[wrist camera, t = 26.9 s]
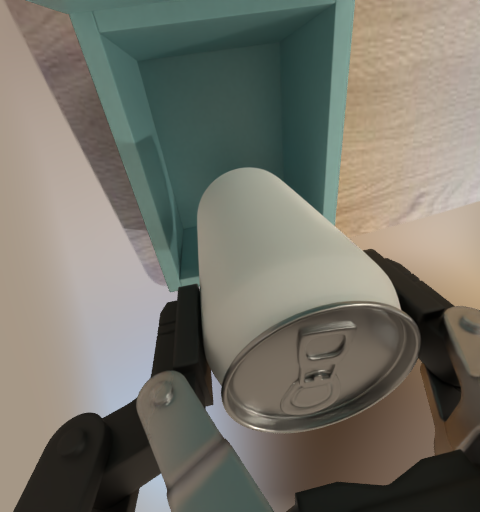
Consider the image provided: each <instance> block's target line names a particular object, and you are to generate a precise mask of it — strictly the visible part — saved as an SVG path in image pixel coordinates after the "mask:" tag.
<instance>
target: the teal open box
mask: <svg viewBox="0 0 480 512" xmlns="http://www.w3.org/2000/svg"><path fill="white" fill-rule="evenodd" d="M354 6H355V0H179V1H171V2H162V3H154V4H146V5H137V6H129V7H120V8H112V9H104V10H95V11H87V12H78V13H70V14H69V16H70V19H71V22H72V25H73V27H74V30H75V33H76V36H77V38H78V41H79V44H80V47H81V49H82V52H83V55H84V58H85V60H86V63H87V66H88V69H89V71H90V74H91V77H92V80H93V82H94V85H95V88H96V91H97V93H98V96H99V99H100V102H101V104H102V107H103V110H104V113H105V115H106V118H107V121H108V124H109V126H110V129H111V132H112V135H113V137H114V140H115V143H116V146H117V148H118V151H119V154H120V157H121V159H122V162H123V165H124V168H125V170H126V173H127V176H128V179H129V181H130V184H131V187H132V190H133V192H134V195H135V198H136V201H137V203H138V206H139V209H140V212H141V214H142V217H143V220H144V223H145V225H146V228H147V231H148V234H149V236H150V239H151V242H152V245H153V247H154V250H155V253H156V256H157V258H158V261H159V264H160V267H161V269H162V272H163V275H164V278H165V280H166V283H167V286H168V289H169V291H170V292H174V291H178V288H179V287H182V286H187V285H192V284H196V283H197V284H198V287H199V286H200V282H199V259H198V234H197V212H198V207H199V203H200V200H201V198H202V196H203V194H204V192H205V191H206V189H207V188H208V187H209V185H210V184H211V183H212V182H213V181H214V180H216V179H217V178H218V177H220V176H221V175H223V174H225V173H227V172H229V171H231V170H234V169H239V168H247V167H251V168H259V169H263V170H265V171H268V172H270V173H272V174H274V175H275V176H277V177H278V178H279V179H281V180H282V181H283V182H284V183H285V184H287V185H288V186H289V187H290V188H291V189H292V190H294V191H295V192H296V193H297V194H298V195H299V196H301V197H302V198H303V199H304V200H305V201H306V202H308V203H309V204H310V205H311V206H312V207H313V208H314V209H316V210H317V211H318V212H319V213H320V214H321V215H323V216H324V217H325V218H326V219H327V220H328V221H329V222H331V223H332V224H333V225H334V226H335V218H336V207H337V195H338V184H339V173H340V162H341V151H342V140H343V129H344V118H345V106H346V95H347V84H348V73H349V62H350V51H351V40H352V29H353V17H354Z"/></svg>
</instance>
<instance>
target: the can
mask: <svg viewBox="0 0 480 512" xmlns="http://www.w3.org/2000/svg"><path fill="white" fill-rule="evenodd" d="M197 234H198V259H199V282H200V303H201V321H202V336H203V346H204V351H205V356H206V360H207V362H208V364H209V367H210V369H211V370H212V372H213V374H214V375H215V377H216V378H217V380H218V381H219V383H220V384H221V386H222V389H221V396H222V402H223V405H224V408H225V410H226V412H227V413H228V414H229V416H230V417H231V418H232V419H233V420H235V421H236V422H237V423H239V424H241V425H242V426H245V427H247V428H250V429H252V430H256V431H261V432H267V433H295V432H303V431H308V430H313V429H318V428H321V427H325V426H329V425H331V424H334V423H337V422H340V421H343V420H345V419H348V418H350V417H352V416H354V415H356V414H358V413H360V412H362V411H364V410H366V409H368V408H369V407H371V406H373V405H374V404H376V403H377V402H379V401H380V400H381V399H383V398H385V397H386V396H387V395H388V394H390V393H391V392H392V391H393V390H394V389H395V388H396V387H397V386H399V385H400V384H401V383H402V381H403V380H404V379H405V378H406V377H407V376H408V374H409V373H410V372H411V370H412V369H413V367H414V365H415V363H416V361H417V359H418V357H419V354H420V350H421V334H420V330H419V328H418V326H417V324H416V323H415V321H414V320H413V319H412V318H411V317H410V316H409V315H408V314H406V313H405V312H403V311H402V310H401V307H400V304H399V300H398V297H397V294H396V291H395V288H394V286H393V284H392V282H391V280H390V279H389V277H388V276H387V275H386V273H385V272H384V271H383V270H382V269H381V268H380V267H379V266H378V265H377V264H376V263H375V262H374V261H373V260H372V259H371V258H370V257H369V256H368V255H367V254H366V253H365V252H363V251H362V250H361V249H360V248H359V247H358V246H357V245H355V244H354V243H353V242H352V241H351V240H350V239H349V238H348V237H347V236H345V235H344V234H343V233H342V232H341V231H340V230H339V229H337V228H336V227H335V226H334V225H333V224H332V223H331V222H329V221H328V220H327V219H326V218H325V217H324V216H323V215H321V214H320V213H319V212H318V211H317V210H316V209H314V208H313V207H312V206H311V205H310V204H309V203H308V202H306V201H305V200H304V199H303V198H302V197H301V196H299V195H298V194H297V193H296V192H295V191H294V190H292V189H291V188H290V187H289V186H288V185H287V184H285V183H284V182H283V181H282V180H281V179H279V178H278V177H277V176H275V175H274V174H272V173H270V172H268V171H265V170H263V169H259V168H251V167H247V168H239V169H234V170H231V171H229V172H227V173H225V174H223V175H221V176H220V177H218V178H217V179H216V180H214V181H213V182H212V183H211V184H210V185H209V187H208V188H207V189H206V191H205V192H204V194H203V196H202V198H201V200H200V203H199V207H198V212H197Z"/></svg>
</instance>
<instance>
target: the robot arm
mask: <svg viewBox="0 0 480 512" xmlns="http://www.w3.org/2000/svg"><path fill="white" fill-rule="evenodd" d="M363 252H365V253H366V254H367V255H368V256H369V257H370V258H371V259H372V260H373V261H374V262H375V263H376V264H377V265H378V266H379V267H380V268H381V269H382V270H383V271H384V272H385V273H386V275H387V276H388V277H389V279H390V280H391V282H392V284H393V286H394V288H395V291H396V294H397V297H398V300H399V304H400V307H401V310H402V311H403V312H405V313H406V314H408V315H409V316H410V317H411V318H412V319H413V320H414V321H415V323H416V324H417V326H418V328H419V330H420V334H421V350H420V354H419V357H418V358H419V359H420V360H421V361H422V364H421V367H420V371H421V375H422V379H423V383H424V387H425V390H426V394H427V398H428V402H429V406H430V409H431V413H432V417H433V421H434V425H435V438H434V452H435V456H432V457H428V458H424V459H421V460H420V461H419V462H417V463H416V464H415V465H414V466H412V467H411V468H410V469H409V470H407V471H406V472H405V473H404V474H402V475H401V476H400V477H399V478H397V479H396V480H395V481H393V482H392V483H391V484H389V485H384V486H382V485H370V484H358V483H345V482H335V483H331V484H327V485H324V486H320V487H316V488H312V489H309V490H305V491H301V492H297V493H295V505H294V506H293V507H292V508H290V509H289V510H288V511H287V512H480V310H477V309H474V308H470V307H464V306H454V305H452V304H451V303H450V302H449V301H447V300H446V299H444V298H443V297H442V296H441V295H439V294H438V293H437V292H436V291H434V290H433V289H432V288H431V287H429V286H428V285H427V284H425V283H424V282H423V281H420V280H419V278H418V277H416V276H415V275H414V274H411V272H410V271H409V270H407V269H406V268H405V267H403V266H402V265H401V264H399V263H397V262H395V261H392V260H390V259H388V258H383V257H382V256H381V255H380V254H378V253H377V252H376V251H375V250H373V249H368V250H363ZM210 405H213V393H212V379H211V369H210V367H209V364H208V362H207V360H206V356H205V351H204V346H203V336H202V321H201V303H200V290H199V287H198V284H197V283H196V284H192V285H187V286H182V287H179V288H178V299H177V301H172V302H168V303H167V304H166V305H165V307H164V309H163V310H162V312H161V313H160V320H159V327H158V336H157V340H156V348H155V354H154V361H153V368H152V374H151V378H150V379H149V380H148V381H147V382H146V383H145V385H144V386H143V387H142V389H141V391H140V392H139V395H138V397H137V398H136V399H135V400H133V401H132V402H130V403H129V404H127V405H126V406H124V407H122V408H120V409H118V410H117V411H115V412H113V413H111V414H109V415H108V416H106V417H104V418H101V417H100V416H99V415H98V414H95V413H84V414H80V415H78V416H76V417H74V418H72V419H71V420H69V421H67V422H66V423H65V424H64V425H62V426H61V427H60V428H59V429H58V430H57V431H56V433H55V434H54V435H53V436H52V438H51V439H50V441H49V442H48V444H47V446H46V447H45V449H44V451H43V454H42V455H41V457H40V459H39V462H38V463H37V465H36V467H35V470H34V472H33V473H32V475H31V477H30V479H29V481H28V483H27V485H26V488H25V489H24V491H23V493H22V495H21V497H20V499H19V501H18V503H17V505H16V507H15V509H14V511H13V512H135V508H136V503H137V498H138V493H139V488H140V487H142V486H143V485H144V484H146V483H147V482H149V481H150V480H152V479H153V478H155V477H156V476H158V475H159V474H162V476H163V479H164V482H165V484H166V487H167V499H168V502H169V506H170V509H171V512H274V511H273V509H272V508H271V506H270V505H269V503H268V501H267V500H266V498H265V497H264V495H263V494H262V492H261V491H260V489H259V488H258V486H257V484H256V483H255V481H254V480H253V478H252V477H251V475H250V474H249V472H248V471H247V469H246V468H245V466H244V464H243V463H242V461H241V460H240V458H239V456H238V455H237V453H236V452H235V450H234V449H233V447H232V446H231V445H230V443H229V442H228V441H227V440H226V439H224V438H223V436H222V435H221V433H220V432H219V430H218V429H217V427H216V426H215V424H214V422H213V421H212V419H211V418H210V416H209V415H208V413H207V411H206V409H205V407H206V406H210Z"/></svg>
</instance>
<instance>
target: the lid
mask: <svg viewBox="0 0 480 512" xmlns="http://www.w3.org/2000/svg"><path fill="white" fill-rule="evenodd" d="M26 1H29V2H32V3H35V4H38V5H41V6H44V7H47V8H50V9H53V10H56V11H59V12H62V13H65V14H70V13H78V12H87V11H95V10H104V9H112V8H120V7H129V6H137V5H146V4H154V3H162V2H171V1H179V0H26Z"/></svg>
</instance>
